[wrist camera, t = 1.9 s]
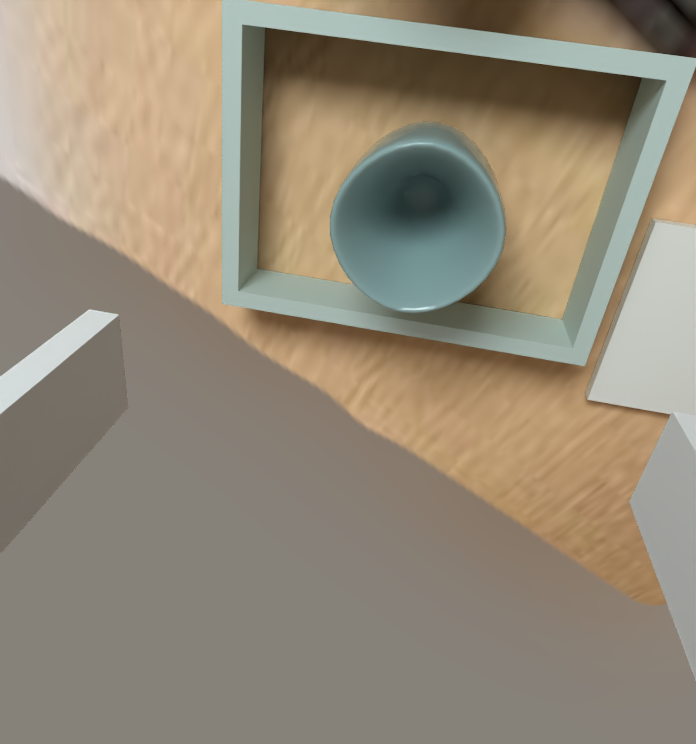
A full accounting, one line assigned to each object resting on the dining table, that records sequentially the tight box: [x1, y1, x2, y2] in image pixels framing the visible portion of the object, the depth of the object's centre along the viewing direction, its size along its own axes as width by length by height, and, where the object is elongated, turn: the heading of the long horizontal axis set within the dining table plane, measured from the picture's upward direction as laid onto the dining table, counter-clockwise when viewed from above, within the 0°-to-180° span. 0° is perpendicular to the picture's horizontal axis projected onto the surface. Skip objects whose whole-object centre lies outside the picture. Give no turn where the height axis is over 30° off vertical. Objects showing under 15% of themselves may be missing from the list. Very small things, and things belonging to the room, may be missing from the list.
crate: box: [222, 0, 696, 366], centre depth 33 cm, size 16×22×4 cm
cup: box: [330, 121, 506, 313], centre depth 30 cm, size 8×8×10 cm
